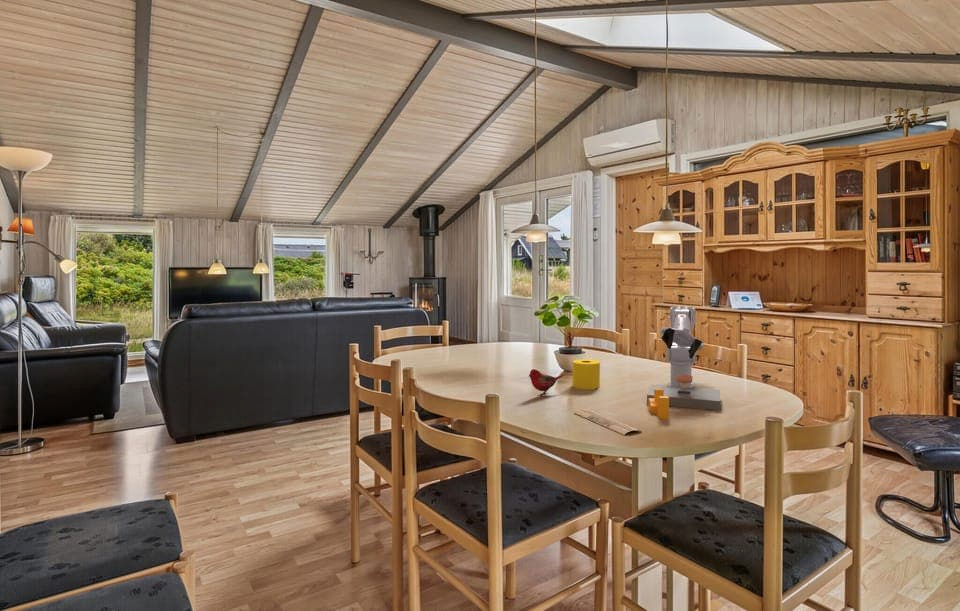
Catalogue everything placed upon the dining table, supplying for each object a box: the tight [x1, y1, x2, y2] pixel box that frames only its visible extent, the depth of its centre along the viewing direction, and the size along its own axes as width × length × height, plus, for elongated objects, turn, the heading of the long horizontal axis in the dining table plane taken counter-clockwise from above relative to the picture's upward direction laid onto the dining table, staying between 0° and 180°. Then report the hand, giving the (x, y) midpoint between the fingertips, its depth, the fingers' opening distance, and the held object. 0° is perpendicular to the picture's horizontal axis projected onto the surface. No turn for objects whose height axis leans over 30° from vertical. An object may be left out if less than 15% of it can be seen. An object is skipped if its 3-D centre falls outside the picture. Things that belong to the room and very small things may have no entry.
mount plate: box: [646, 384, 721, 411], centre depth 178 cm, size 16×22×3 cm
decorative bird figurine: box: [528, 368, 565, 397], centre depth 189 cm, size 3×18×10 cm, turn 127°
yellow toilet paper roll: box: [572, 358, 601, 390], centre depth 201 cm, size 10×10×9 cm
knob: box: [676, 374, 693, 390], centre depth 178 cm, size 5×5×5 cm
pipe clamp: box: [647, 388, 670, 420], centre depth 165 cm, size 12×4×6 cm, turn 169°
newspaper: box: [573, 408, 643, 436], centre depth 155 cm, size 24×7×2 cm, turn 25°
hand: (681, 351), depth 178 cm, fingers open, 7 cm apart
